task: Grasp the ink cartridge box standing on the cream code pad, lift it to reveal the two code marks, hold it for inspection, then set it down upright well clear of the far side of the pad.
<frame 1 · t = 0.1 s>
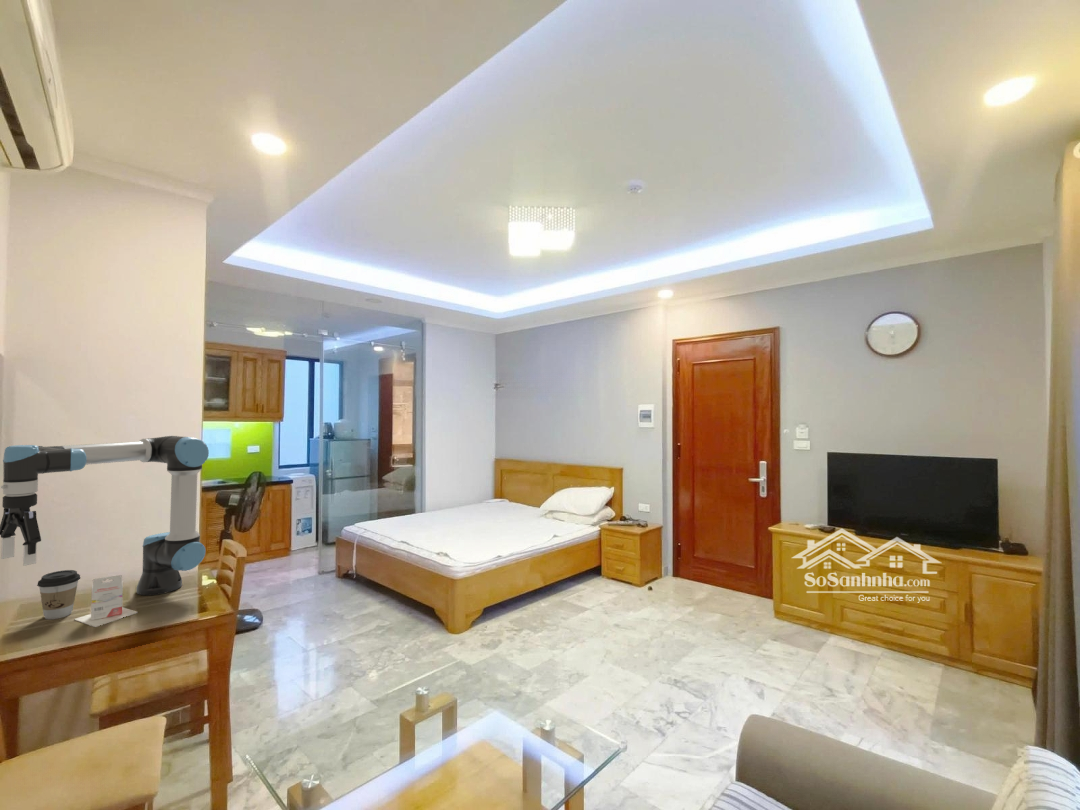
hand: (18, 561, 154), 28 cm above the table, fingers open, 13 cm apart
coffee cup: (58, 615, 178), on the table
ink cartridge box: (106, 615, 178), resting on code pad
code pad: (106, 616, 178), on the table
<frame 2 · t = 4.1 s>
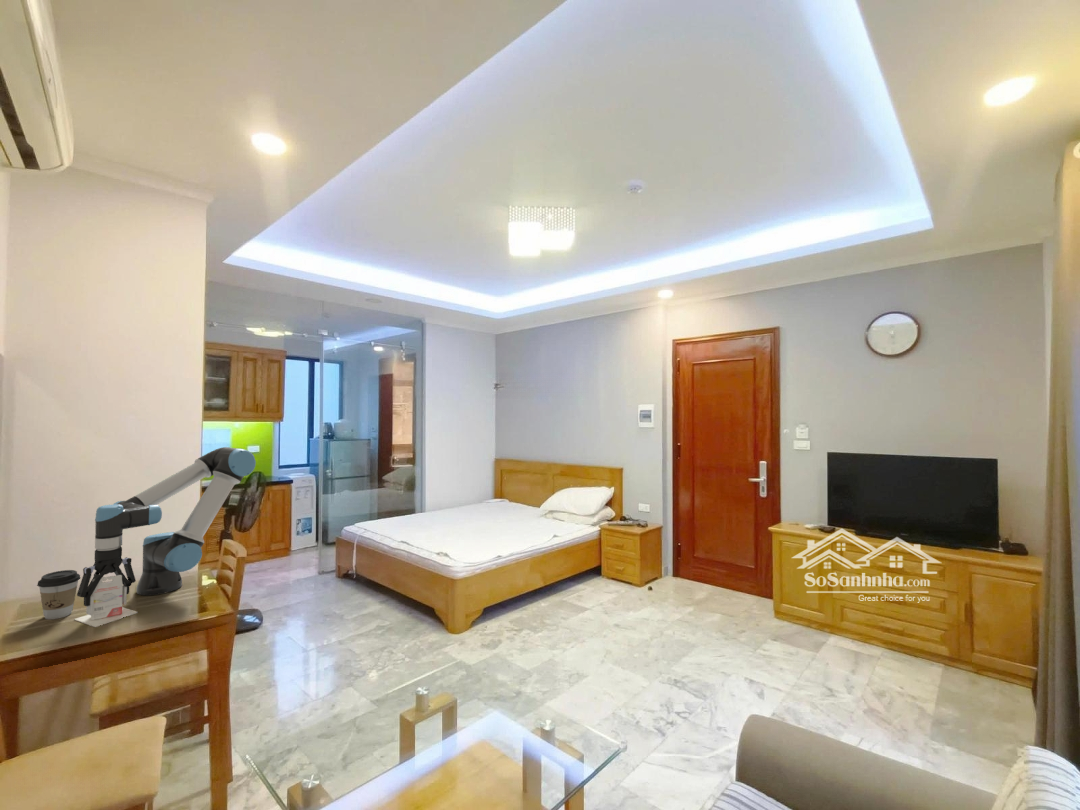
hand: (106, 608, 178), 3 cm above the table, fingers closed on ink cartridge box, 9 cm apart
ink cartridge box: (106, 615, 178), resting on code pad, touching gripper
everything else where it was.
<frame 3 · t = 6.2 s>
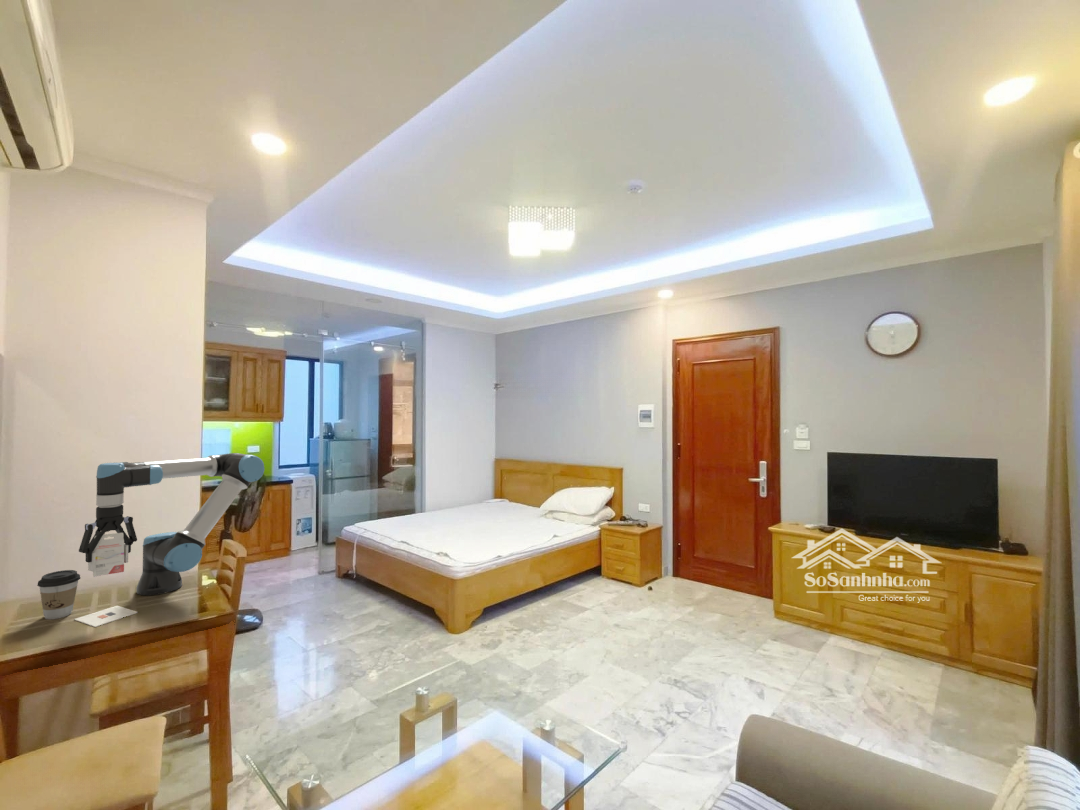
hand: (108, 566, 179), 18 cm above the table, fingers closed on ink cartridge box, 9 cm apart
ink cartridge box: (108, 573, 179), point 16 cm above the table, touching gripper
everything else where it was.
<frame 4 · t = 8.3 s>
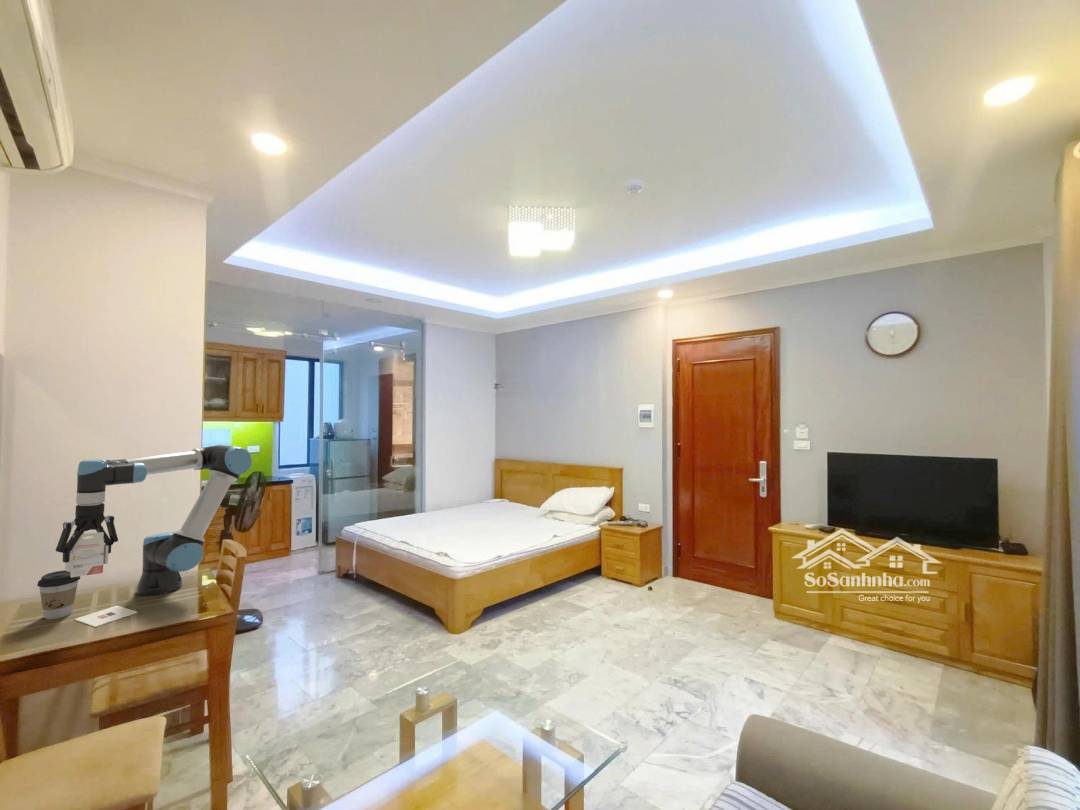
hand: (86, 567, 172), 20 cm above the table, fingers closed on ink cartridge box, 9 cm apart
ink cartridge box: (86, 574, 172), point 18 cm above the table, touching gripper
everything else where it was.
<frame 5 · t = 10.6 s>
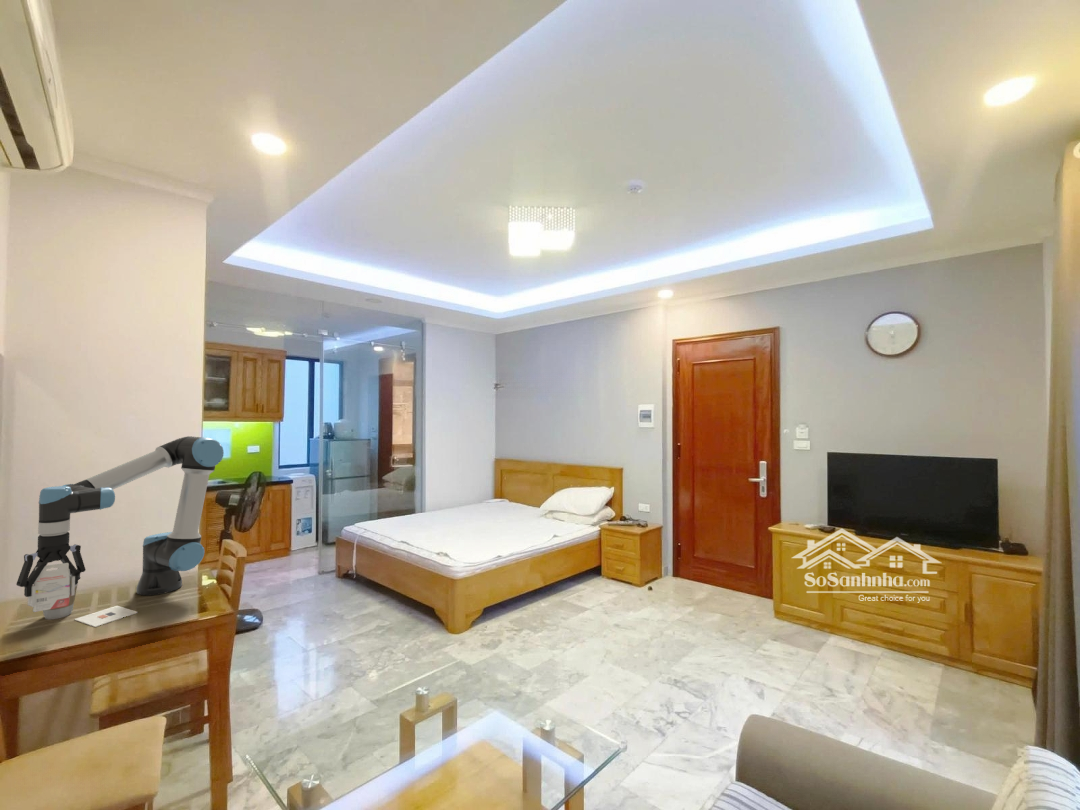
hand: (51, 600, 163), 12 cm above the table, fingers closed on ink cartridge box, 9 cm apart
ink cartridge box: (51, 607, 163), point 10 cm above the table, touching gripper
everything else where it was.
when the fingers open (4 cm above the table, at t = 12.6 s): ink cartridge box drops 2 cm, on the table.
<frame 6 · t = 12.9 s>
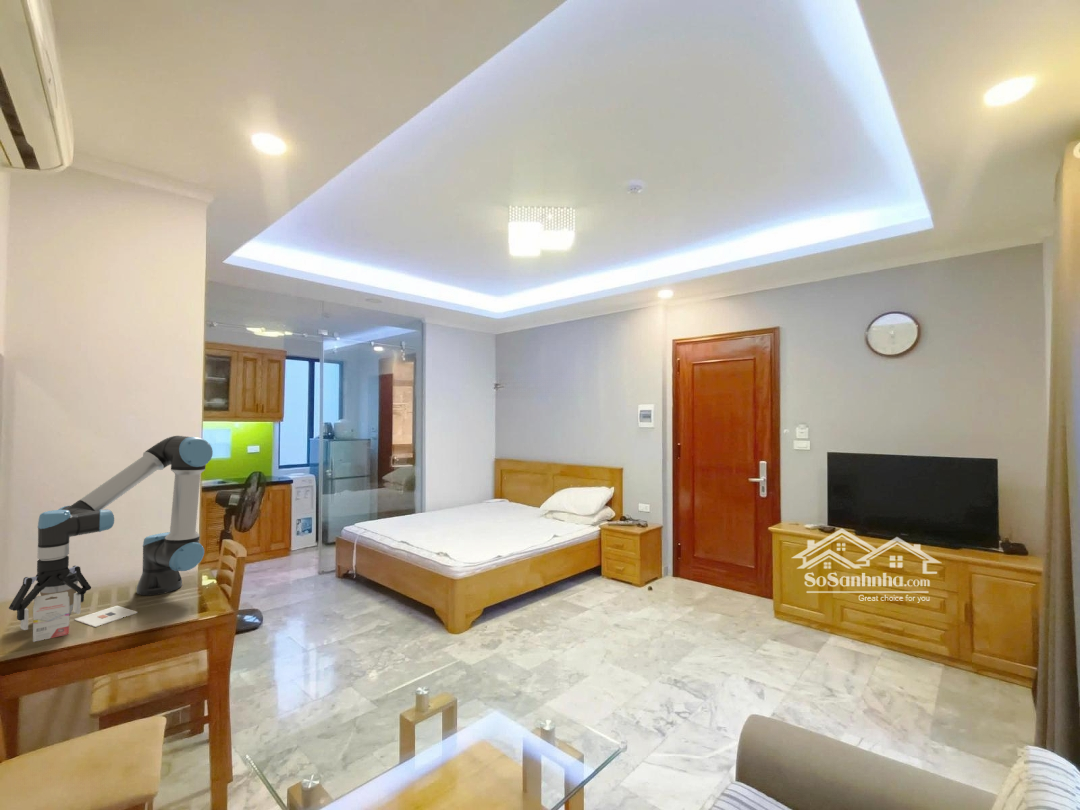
hand: (51, 620, 163), 5 cm above the table, fingers open, 13 cm apart
ink cartridge box: (51, 636, 163), on the table
everything else where it was.
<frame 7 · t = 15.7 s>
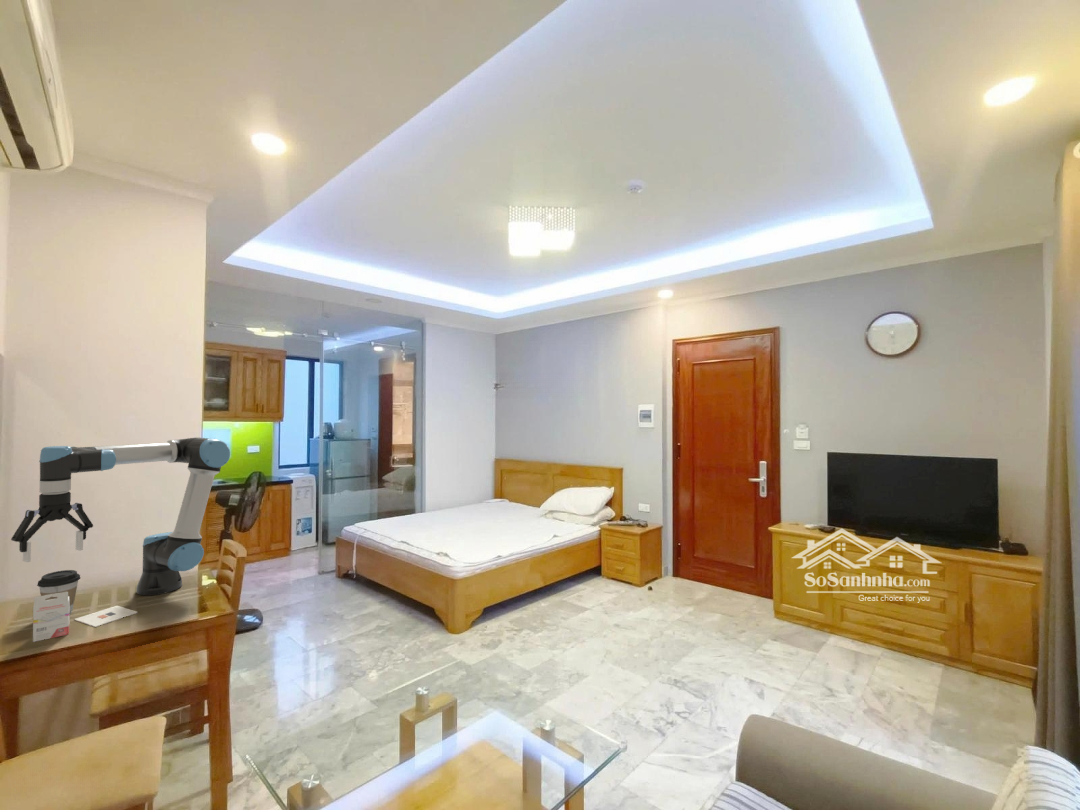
hand: (54, 555, 164), 27 cm above the table, fingers open, 13 cm apart
nothing on the table moved.
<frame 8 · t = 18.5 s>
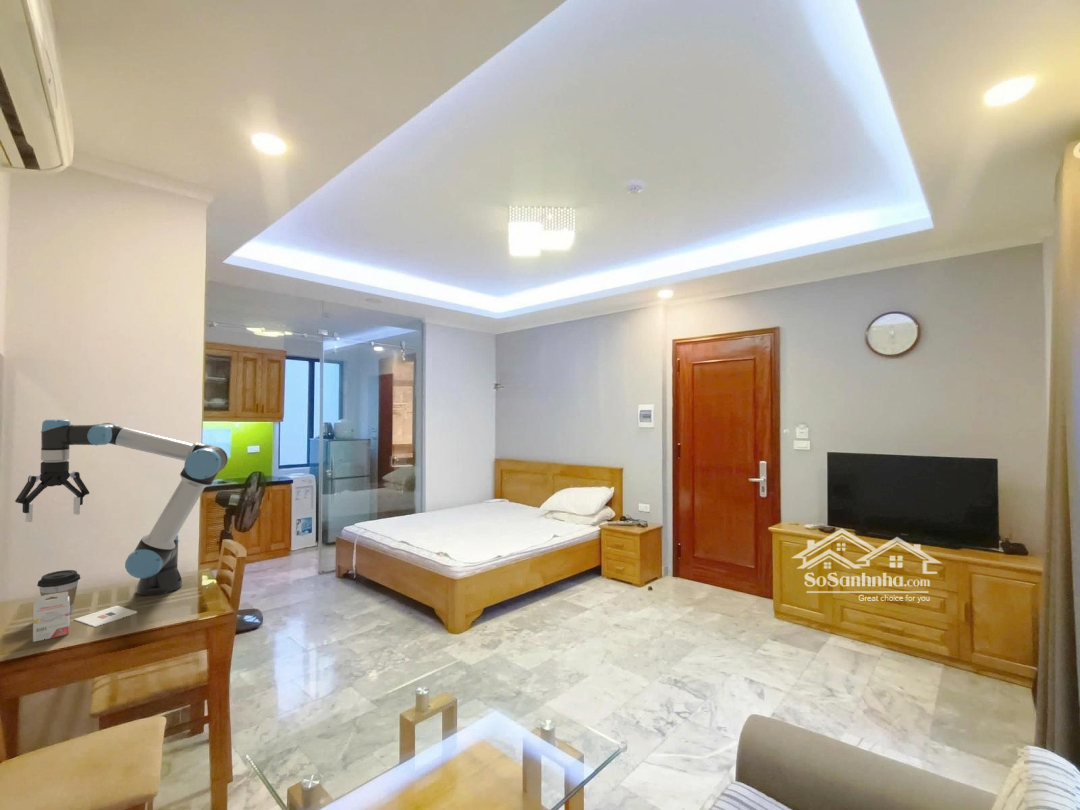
hand: (53, 517, 181), 35 cm above the table, fingers open, 13 cm apart
nothing on the table moved.
at the end: ink cartridge box inside the target area (0.0 cm from its centre), on the table; ink cartridge box tilted 0°; ink cartridge box touching table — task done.
